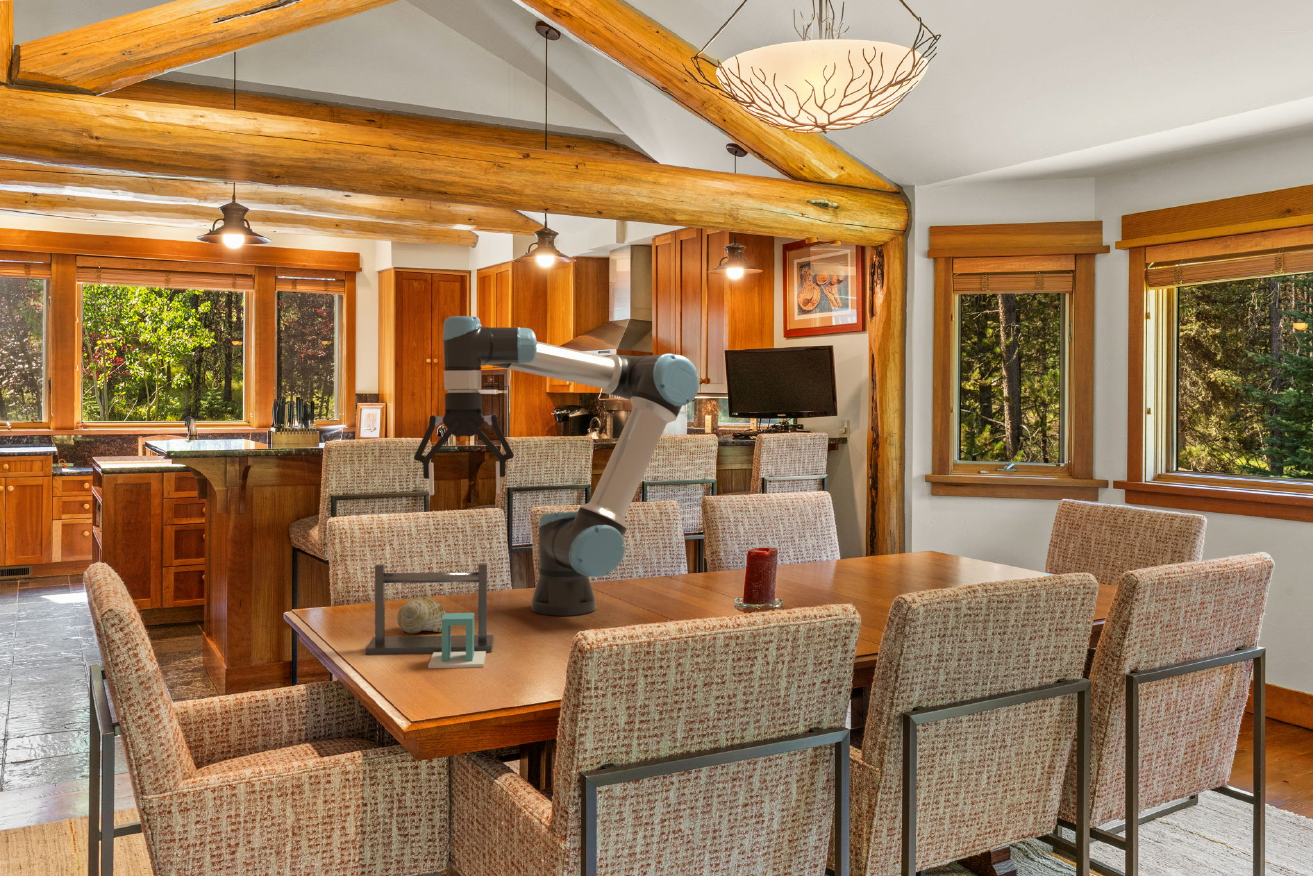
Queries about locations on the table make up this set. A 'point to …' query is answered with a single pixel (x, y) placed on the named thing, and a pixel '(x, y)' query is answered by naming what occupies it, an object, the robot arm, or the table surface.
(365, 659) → the table surface
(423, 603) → the seashell
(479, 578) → the stand
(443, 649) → the c link
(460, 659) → the mat
